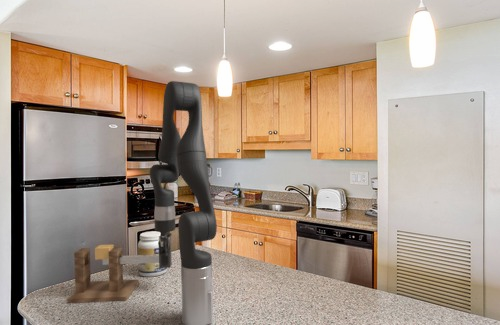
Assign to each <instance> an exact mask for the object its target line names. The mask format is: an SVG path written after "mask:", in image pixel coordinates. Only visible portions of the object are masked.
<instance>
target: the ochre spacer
mask: <svg viewBox="0 0 500 325" xmlns="http://www.w3.org/2000/svg"><path fill="white" fill-rule="evenodd" d="M114 246H115V244H99V245H98V246H96V247H95V248H94V260H96V261H97V260H102V259H109V251H110V250H111V249H113V248H114Z"/></svg>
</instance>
